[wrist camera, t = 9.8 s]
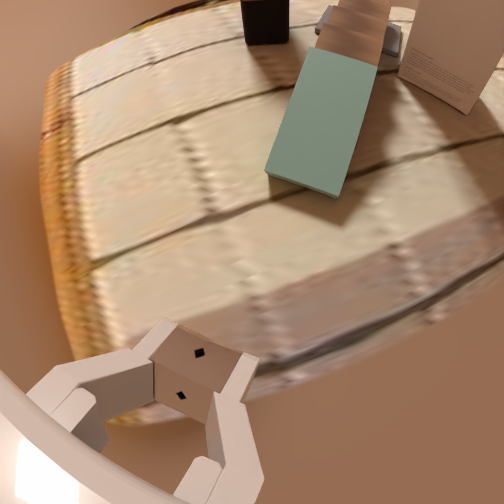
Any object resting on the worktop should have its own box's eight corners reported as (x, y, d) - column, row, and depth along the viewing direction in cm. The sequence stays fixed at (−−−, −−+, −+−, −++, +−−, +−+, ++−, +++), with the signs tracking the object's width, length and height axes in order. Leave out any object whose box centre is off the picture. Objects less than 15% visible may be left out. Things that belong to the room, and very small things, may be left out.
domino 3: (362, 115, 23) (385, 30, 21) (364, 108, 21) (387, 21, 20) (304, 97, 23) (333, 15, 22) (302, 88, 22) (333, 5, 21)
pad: (400, 30, 27) (401, 26, 26) (396, 57, 25) (398, 53, 25) (328, 9, 28) (329, 5, 28) (314, 32, 27) (315, 28, 26)
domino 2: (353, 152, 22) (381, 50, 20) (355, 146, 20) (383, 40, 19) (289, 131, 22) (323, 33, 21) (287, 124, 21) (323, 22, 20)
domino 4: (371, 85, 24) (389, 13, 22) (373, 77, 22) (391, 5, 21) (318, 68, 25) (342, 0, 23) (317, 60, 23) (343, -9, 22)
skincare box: (472, 87, 24) (525, -17, 9) (466, 120, 22) (536, -2, 8) (406, 50, 26) (439, -65, 11) (391, 76, 24) (431, -62, 9)
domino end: (337, 199, 20) (374, 76, 19) (338, 196, 19) (377, 66, 18) (268, 174, 21) (310, 57, 20) (264, 170, 20) (309, 46, 18)
